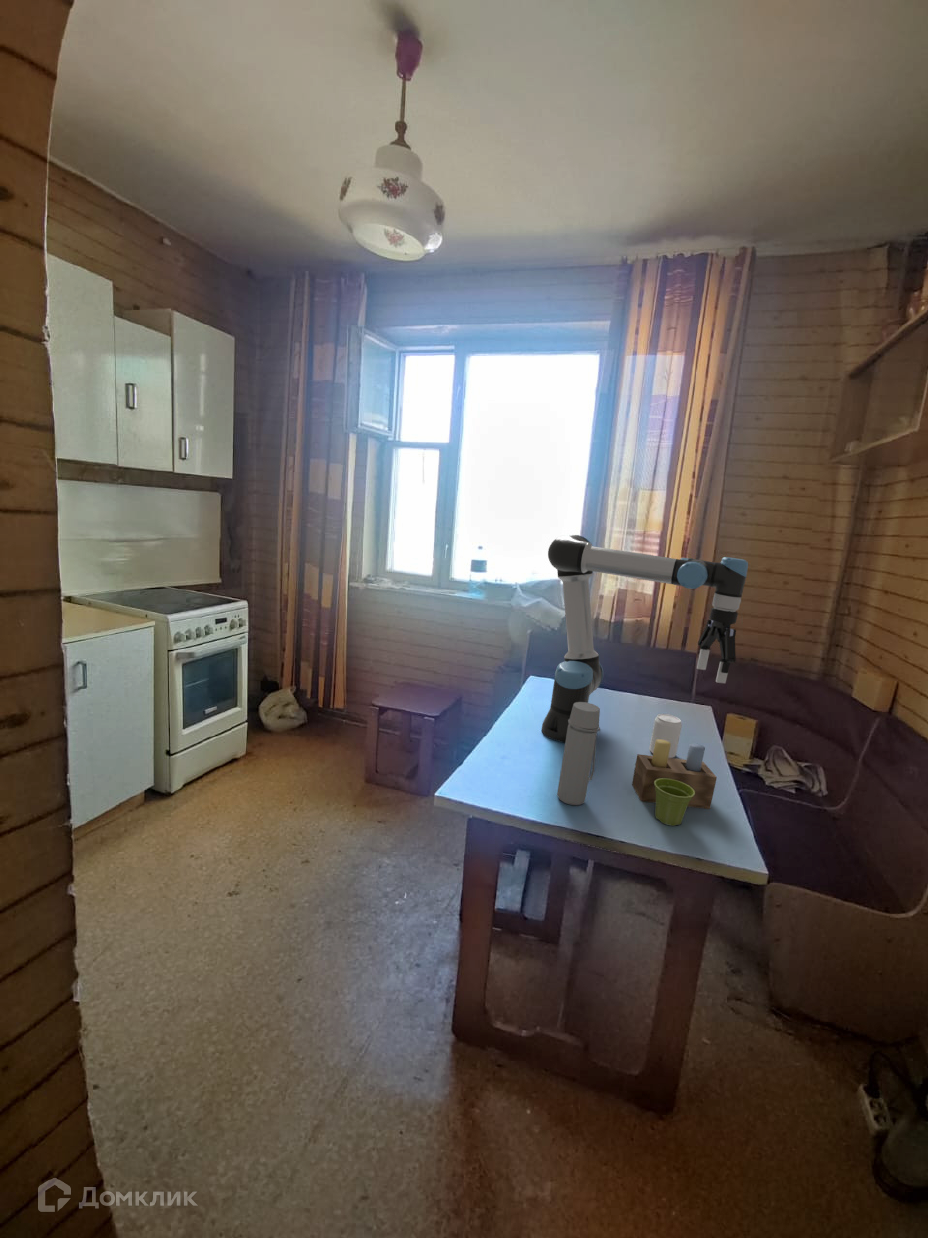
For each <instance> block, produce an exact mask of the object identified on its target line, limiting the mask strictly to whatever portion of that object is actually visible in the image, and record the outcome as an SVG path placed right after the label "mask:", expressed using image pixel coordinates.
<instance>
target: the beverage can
mask: <svg viewBox="0 0 928 1238" xmlns="http://www.w3.org/2000/svg"><path fill="white" fill-rule="evenodd" d="M654 718H655V719H654V722H653V728H652V731H651V732H652V734H651V738H650V743H649V749H648V750H649V752H651V753H652V754H653V752H654V747H655V741H656V740H657V739H662V740H666V741H668V742H670V743H671V746H670V751H669V756H668V758H676V756H677V752H678V747H679V743H680V738H681V732H682V728H683V724H682V720H681V719H680V718H679V717H677V716H675V715H672V714H668V713H659V714H657V716H656V717H654Z"/></svg>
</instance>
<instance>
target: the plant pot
mask: <svg viewBox="0 0 928 1238" xmlns="http://www.w3.org/2000/svg"><path fill="white" fill-rule="evenodd" d="M654 785H655V790H656V803H655V812H654V813H655V819H656V820H659V822H661V823H662V824H665V825H668V826H670V827H671V826H674V827H675V826H676V825H678V826H679V825H681V824H682V821H683V819H684V817H685V813H686V810H687V808H688V807H687V806H688V803H689V801H690V800H691V798H692V797H693V796H694V795H695V791H694V790H693V789H692V788H691V787H690V786H689V785H687V784H685V783H683V782H680V781H677V780H673V779H668V778H660V779H657V780H655V782H654Z"/></svg>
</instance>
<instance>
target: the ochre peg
mask: <svg viewBox="0 0 928 1238" xmlns="http://www.w3.org/2000/svg"><path fill="white" fill-rule="evenodd" d="M670 746H671V743H670V742H668V741H666V740H662V739H657V740H656V741H655V747H654V752H653V753H652V756H653V757H652V762H651V765H652V767H660V768H666V766H667V761H668V756H669V751H670Z"/></svg>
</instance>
